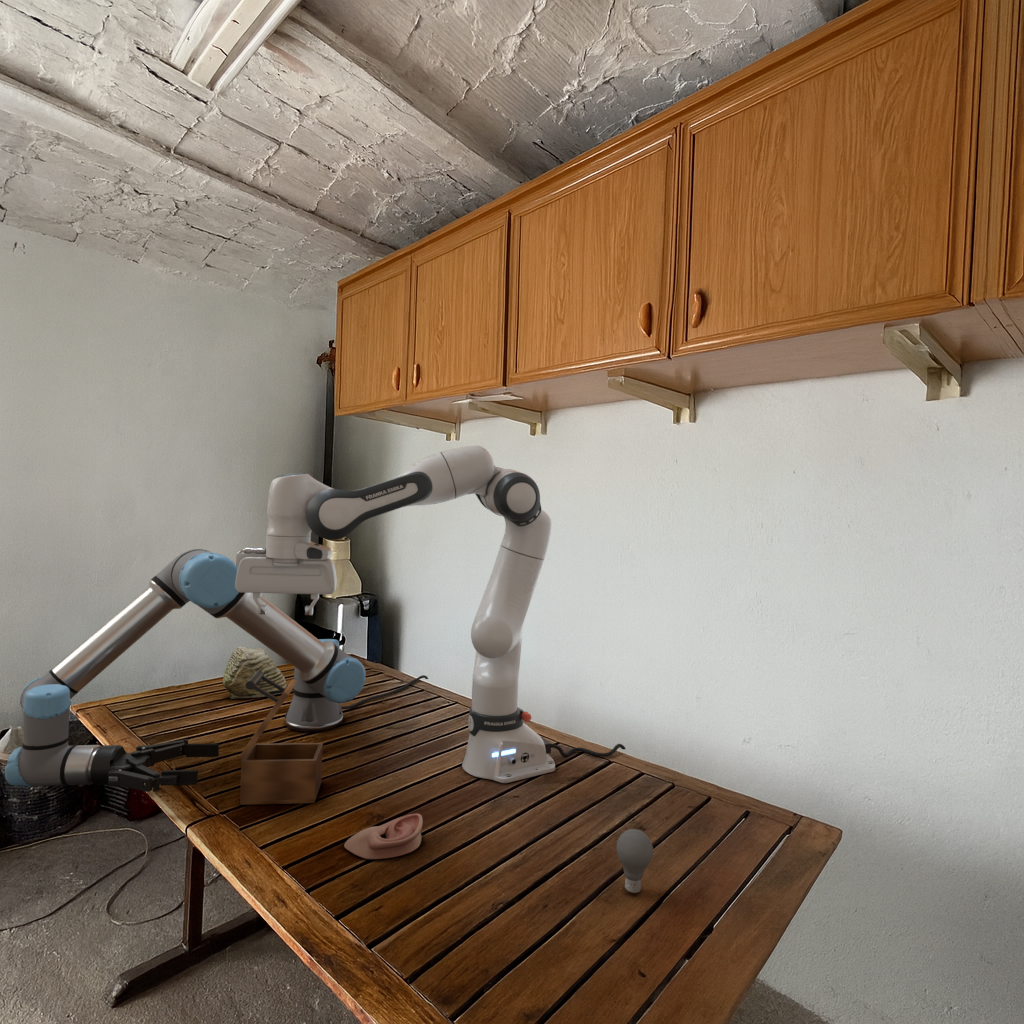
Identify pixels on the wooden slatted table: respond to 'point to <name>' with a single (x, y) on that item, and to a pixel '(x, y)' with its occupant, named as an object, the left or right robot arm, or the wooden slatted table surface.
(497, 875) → the wooden slatted table surface
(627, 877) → the light bulb
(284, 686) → the fossil
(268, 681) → the lid
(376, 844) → the anatomical model
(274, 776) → the chest
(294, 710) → the left robot arm
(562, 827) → the wooden slatted table surface
